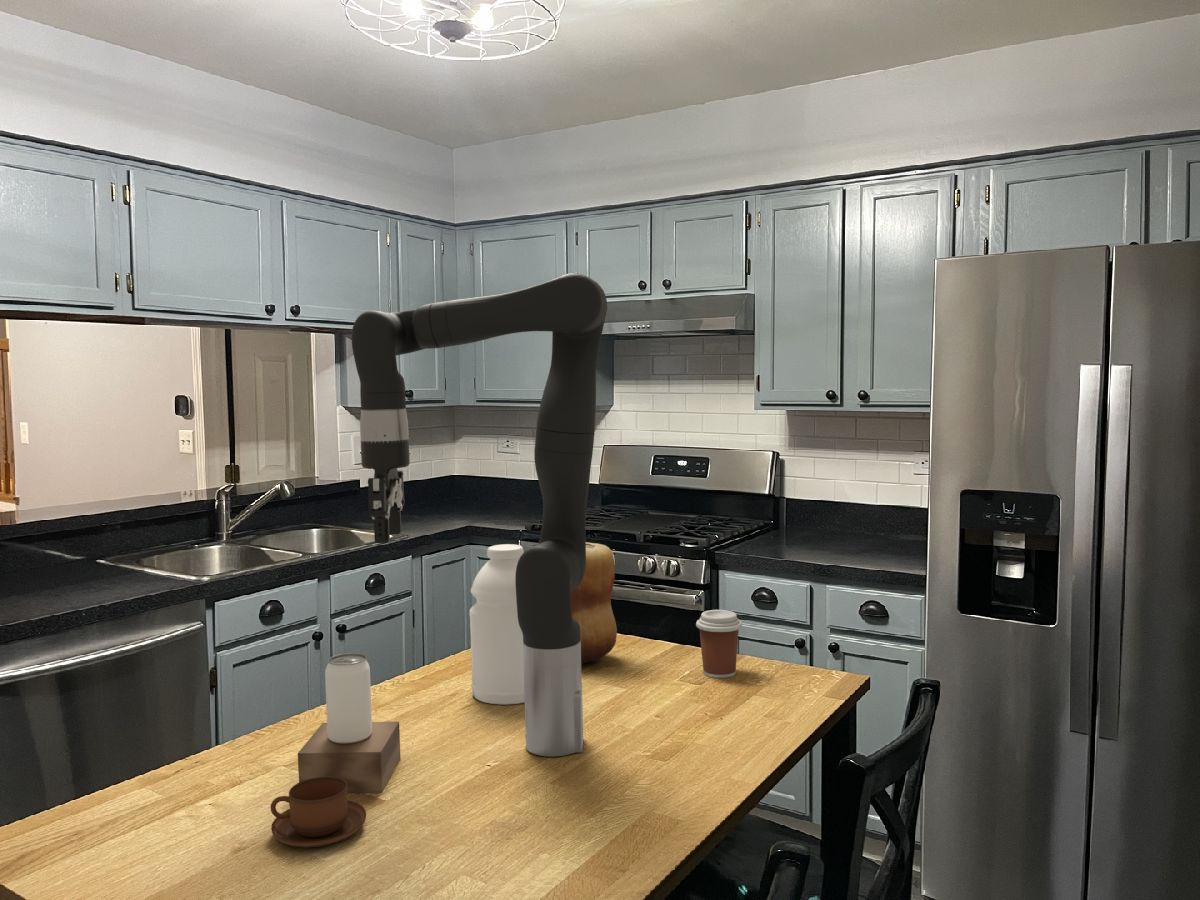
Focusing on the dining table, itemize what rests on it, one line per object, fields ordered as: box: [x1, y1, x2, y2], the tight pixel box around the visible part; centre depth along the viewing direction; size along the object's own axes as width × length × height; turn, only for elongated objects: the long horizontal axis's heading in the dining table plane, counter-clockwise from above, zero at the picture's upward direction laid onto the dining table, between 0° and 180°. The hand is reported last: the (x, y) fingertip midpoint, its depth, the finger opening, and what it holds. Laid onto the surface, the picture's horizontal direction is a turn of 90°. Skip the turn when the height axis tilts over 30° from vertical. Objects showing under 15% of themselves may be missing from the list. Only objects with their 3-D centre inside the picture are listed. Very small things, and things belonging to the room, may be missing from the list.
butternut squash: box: [571, 541, 618, 665], centre depth 194 cm, size 14×13×25 cm
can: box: [324, 652, 373, 744], centre depth 140 cm, size 6×6×12 cm
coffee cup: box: [695, 609, 743, 679], centre depth 186 cm, size 9×9×12 cm
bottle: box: [468, 543, 525, 706], centre depth 175 cm, size 14×14×28 cm
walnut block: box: [297, 721, 402, 794], centre depth 141 cm, size 12×12×6 cm
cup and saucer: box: [270, 777, 367, 848], centre depth 123 cm, size 12×12×6 cm
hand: (388, 538), depth 150 cm, fingers open, 8 cm apart
